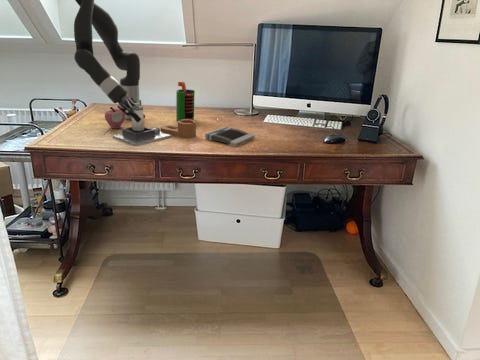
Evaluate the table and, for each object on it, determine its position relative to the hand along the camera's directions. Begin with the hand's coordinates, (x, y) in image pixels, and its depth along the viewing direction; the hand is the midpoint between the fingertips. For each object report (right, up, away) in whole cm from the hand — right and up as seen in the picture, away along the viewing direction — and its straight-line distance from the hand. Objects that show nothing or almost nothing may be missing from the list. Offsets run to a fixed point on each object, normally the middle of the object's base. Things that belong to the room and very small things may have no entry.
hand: (141, 119), depth 170 cm
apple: (-17, -1, +17) cm, 24 cm away
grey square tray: (+38, -8, +10) cm, 41 cm away
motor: (+14, +5, +36) cm, 39 cm away
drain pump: (-2, -4, +2) cm, 5 cm away
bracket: (+14, -5, +13) cm, 20 cm away
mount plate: (-1, -7, +5) cm, 9 cm away
